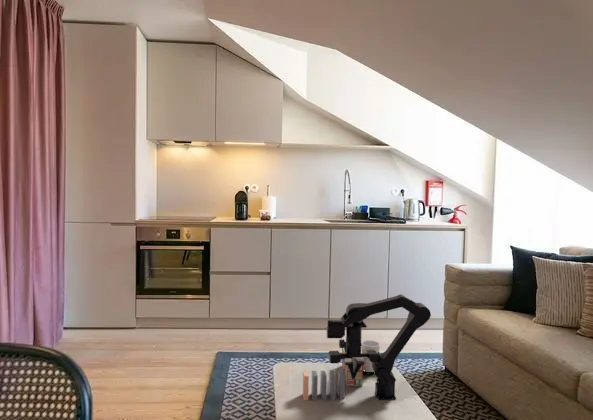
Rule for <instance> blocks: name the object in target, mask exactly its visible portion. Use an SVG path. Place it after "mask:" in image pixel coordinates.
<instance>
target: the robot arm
mask: <svg viewBox="0 0 593 420" xmlns="http://www.w3.org/2000/svg"><path fill="white" fill-rule="evenodd" d="M399 308H402V309H404V310H406V311H407V312H408V315H407V317H406V321H405V323H404V324H403V326H402V327H401V329H399V332H398V333H397V334H396V335H395V337H394V338H393V340H392V342H391V343H390V344H389V346H388V347H387V348H386V349H385V351H384V352H382V353H380V351H379V352H378V353H377V352H376V351H375V350H366V353H361V352H362V343H361V342H362V328H365V329H366V328H367V327H368V326H367V323H366V322H364V320H366V319H367V318H369V317H370V316H373V315H377V314H379V313H384V312H387V311H391V310H395V309H399ZM431 316H432V314H431V311H430V309H429V308H428V307H427V306H426V305H425V304H423V303H422V302H415V301H413V300H412V299H410V298H408V297H406V296H405V295H404V294H398V295H395V296H391V297H387V298H385V299H384V298H383V299H380V300H376V301H372V302H368V303H366V302H365V303H364V302H358V303H350V304H348V305H347V307H346V310H345V312H344V314H343V315H342V316H341V317H340V320H337V319H327V324H326V338H327V339H338V348H339V349H342V348H344V351H345V352H346V354H342V353H340V351H339V350H329V351H328V353H327V359H328V360H329V363H330V364H340V363H341V362H342V359H343V361H344V363H345V365H348V367H349V370H350V373H351V377H352V379H355V377H356V374H357V372H358V370H359V369H360V367H361V365H364V362H363V360H364V359H369V360H370V361H371V362H373V363H372V368H373V371H374V375H375V376H376V382H375V386H374V388H375V389H374V391H375V393H374V394H375V395H376V396H377V398H378V400H396V399H397V396H396V395H395V392H396V388H395V387H396V381H397V379H396V377H395V375H394V373H393V372H392V371H393V368H394V365H395V361H396V359H397V358H398V356H399V355H400V354H401V352H402V351H403V349H404V347H406V345H407V343H408V342H409V341H410V340H411V338H412V336H413V335H414V333H415V332H416V330H418V329H420V328H421V327H423V326H424V325H425V324H426V323H427V322H428V321H429V320H430V318H431ZM344 337H345V339H343V338H344ZM352 359H354V367H353V363H352Z"/></svg>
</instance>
